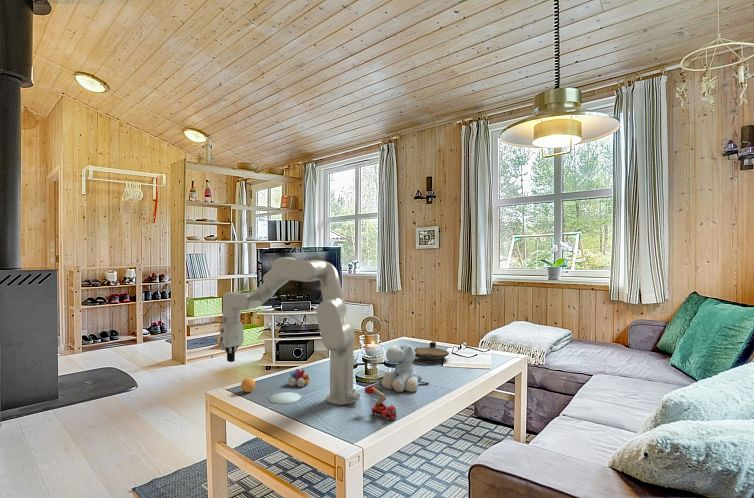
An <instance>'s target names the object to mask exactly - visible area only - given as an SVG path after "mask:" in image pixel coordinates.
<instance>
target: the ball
mask: <svg viewBox="0 0 754 498" xmlns="http://www.w3.org/2000/svg"><path fill="white" fill-rule="evenodd" d="M240 388H241V390H242V392H244V393H251V392H253V390H254V389H256V381H255V380H254V379H253V378H251V377H246V378H244V379H243V380H242V381H241V383H240Z"/></svg>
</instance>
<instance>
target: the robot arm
mask: <svg viewBox="0 0 754 498" xmlns="http://www.w3.org/2000/svg"><path fill="white" fill-rule="evenodd" d="M262 281H263V282H262V283H261V285H259V286H258V287H256V289H254V290H253V291H247V292H244V293H240V292H237V291H228V292H224V293H223V295H222V318H221V319H220V322H221V326H220V328H219V329H220V330H219V339H218V341H219V346H220V348H219V350H220V351H224V352H225V353H226V362H229V363H233V362H235V361H236V360H235V358H236V352H237V349H238V348H240V347H241V346H242V345H243V344H244V342H245V341H244V340H245V339H244V338H245V337H244V326H243V322H242V321H241V313H242V311H243V312H244V311H249V310H252V309H256V308H259V307H260V306H263V304H265V303H266V302H267V301H268V300H270V299H271V298H272V297H273V296H274V295H275V294H276V292H277V291H278V290H279V289H280V288H282V287H283V286H284V285H286V283H288V282H289V281H295V282H296V281H298V282H305V283H307V282H314V281H320V292H321V296H322V301H320V303H319V304H318V306H317V308H316V314H315V315H316V320H317V325H318V330H319V334H320V338H321V339H320V340H321V341H322V344H323V346H324V348H326V350H328V351H330V354H329V355H330V356H329V394H328V395H327V396H326V397H325V400H326V402H327V403H329V404H332V405H336V406H344V405H349V404H353V403H355V402H356V401H359V400H360V397H361V394H360V393H359V392H356V388H354V350H355V349H354V348H355V347H354V346H355V338H356V337H355V336H356V335H355V329H354V328H353V326H352V325H351V324H350V323H348V322H342V319H343V318H344V317H346V314H347V305H346V301H345V298H344V293H343V289H342V284H341V280H340V276H339V273H338V270H337V268H336V267H335V266H334V265H333V264H332V263H331V262H329V261H326V260H322V259H311V260H301V259H297V258H296V257H292V256H284V257H283V256H282V257H279V258H278V257H277V258H276V259H275V260H274V261H273V262H272V264H271V269H270V270H269V271H267V272H266V273H265V274H264V275H263V276H262Z"/></svg>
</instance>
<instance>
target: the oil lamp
mask: <svg viewBox="0 0 754 498" xmlns="http://www.w3.org/2000/svg"><path fill="white" fill-rule="evenodd" d="M436 346H437V341H436V339H433V340H432V341H431V342H429V347H416V348H414V350H415V358H418V359H420V360H423V359H424V361H437V359H438V360H441V359H443V358H445V357H447V356H449V355H450V352H449V351H447V350H446V349H442V348H437V347H436Z"/></svg>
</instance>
